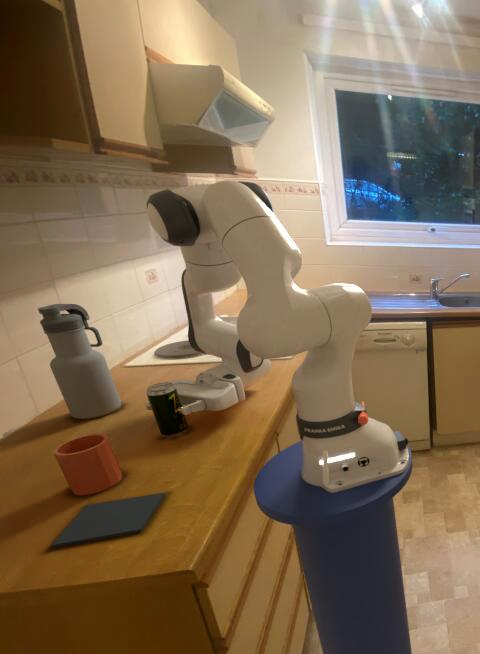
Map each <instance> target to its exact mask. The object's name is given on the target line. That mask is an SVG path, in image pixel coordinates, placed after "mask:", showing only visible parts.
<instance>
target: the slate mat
mask: <svg viewBox="0 0 480 654" xmlns="http://www.w3.org/2000/svg"><path fill="white" fill-rule="evenodd" d="M165 496H166V493H165V492H160V493H154V494H146V495H141V496H135V497H129V498H128V497H127V498H123V499H116V500H110V501H104V502H103V501H102V502H97V503H91V504H86V505H85V506H84V507H83V508H82V510H80V512H79V513H78V514H77V515H76V517H74V519H73V520H72V521H71V522H70V523H69V524H68V526H67V527H65V529H64V530H63V531H62V532H61V534H60V535H59V536H58V537H57V538H56V539H55V540H54V541H53V542H52V543H51V547H52V548H53V549H54V548H59V547H65V546H71V545H76V544H82V543H88V542H93V541H98V540H106V539H110V538H115V537H121V536H129V535H133V534H139V533H142V531H143V530H144V528H145V527H146V526H147V524H148V523H149V521H150V519H151V518H152V516H153V515H154V513H155V512H156V510H157V509H158V507H159V505H160V504H161V503H162V502H163V499H164V498H165Z"/></svg>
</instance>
